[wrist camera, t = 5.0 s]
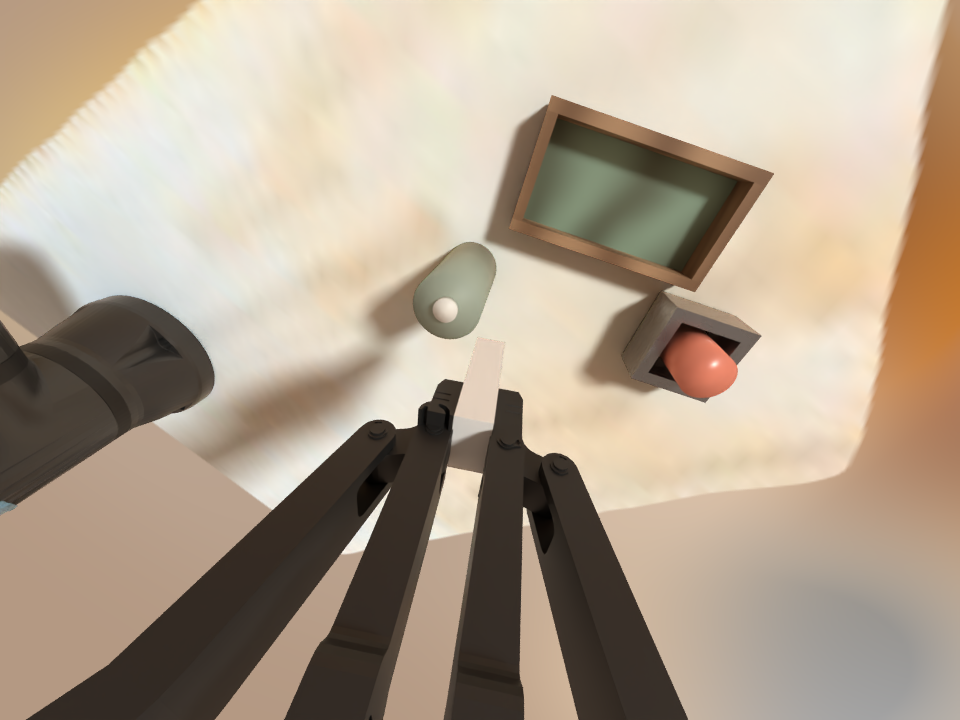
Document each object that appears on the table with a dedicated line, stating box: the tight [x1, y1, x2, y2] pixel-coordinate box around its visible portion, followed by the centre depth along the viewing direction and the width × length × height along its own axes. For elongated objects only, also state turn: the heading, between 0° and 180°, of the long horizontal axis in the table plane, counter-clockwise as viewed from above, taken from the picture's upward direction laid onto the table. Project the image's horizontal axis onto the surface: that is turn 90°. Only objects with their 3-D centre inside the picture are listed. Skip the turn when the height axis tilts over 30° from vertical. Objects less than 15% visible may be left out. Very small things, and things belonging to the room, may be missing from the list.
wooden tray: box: [509, 95, 774, 292], centre depth 25 cm, size 16×9×2 cm, turn 74°
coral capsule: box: [660, 323, 738, 398], centre depth 28 cm, size 4×4×6 cm
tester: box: [622, 291, 761, 402], centre depth 30 cm, size 7×7×4 cm
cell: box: [413, 242, 496, 339], centre depth 26 cm, size 5×5×11 cm
